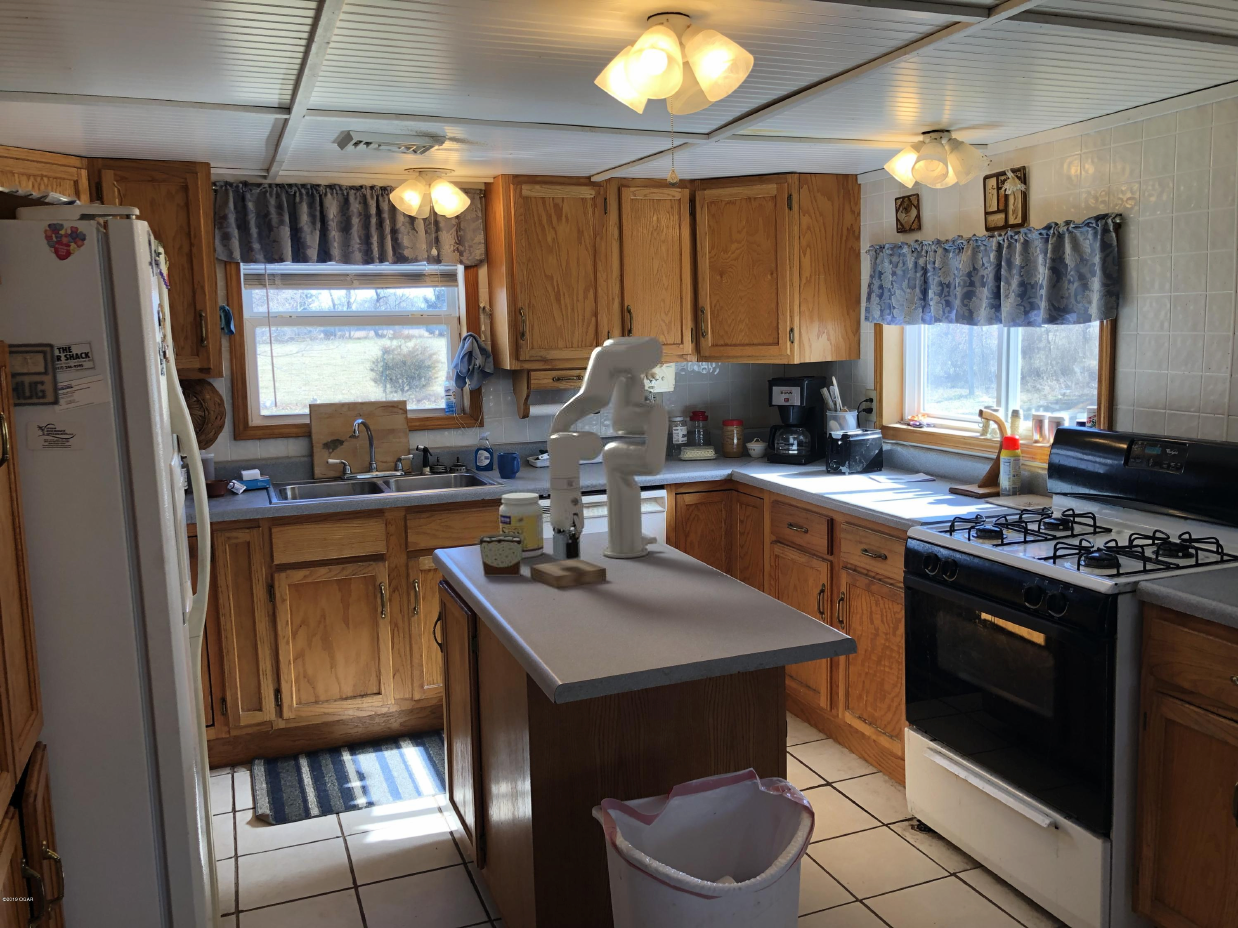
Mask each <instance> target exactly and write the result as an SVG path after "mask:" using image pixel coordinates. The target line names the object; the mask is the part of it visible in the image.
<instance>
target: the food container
mask: <svg viewBox="0 0 1238 928" xmlns="http://www.w3.org/2000/svg"><path fill="white" fill-rule="evenodd" d="M522 543H524V538H523V537H522V535H519V534H512V533H500V532H499V533H491V534H486V535H485V534H484V535H481V536H480V537H478V539H477V545H476V546H479V550H480V556H481V562H482V563H481V565H482V570H483V577H495V576H496V577H499V576H500V577H521V574H522V573H521V572H522V559H523V558H522ZM524 545H525V543H524Z"/></svg>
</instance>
